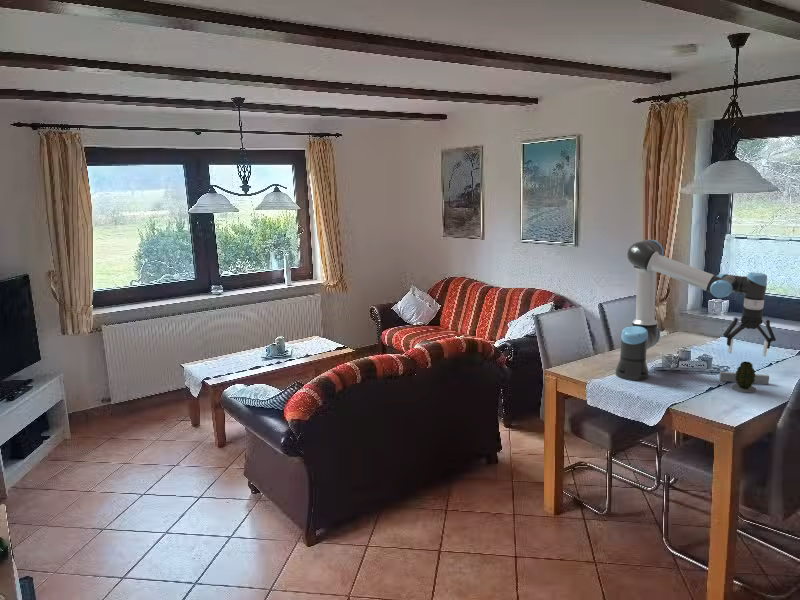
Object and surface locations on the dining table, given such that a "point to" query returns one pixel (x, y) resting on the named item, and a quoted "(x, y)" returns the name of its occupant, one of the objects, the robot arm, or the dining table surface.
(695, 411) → the dining table surface
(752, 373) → the grenade
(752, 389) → the pad
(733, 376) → the low wall
